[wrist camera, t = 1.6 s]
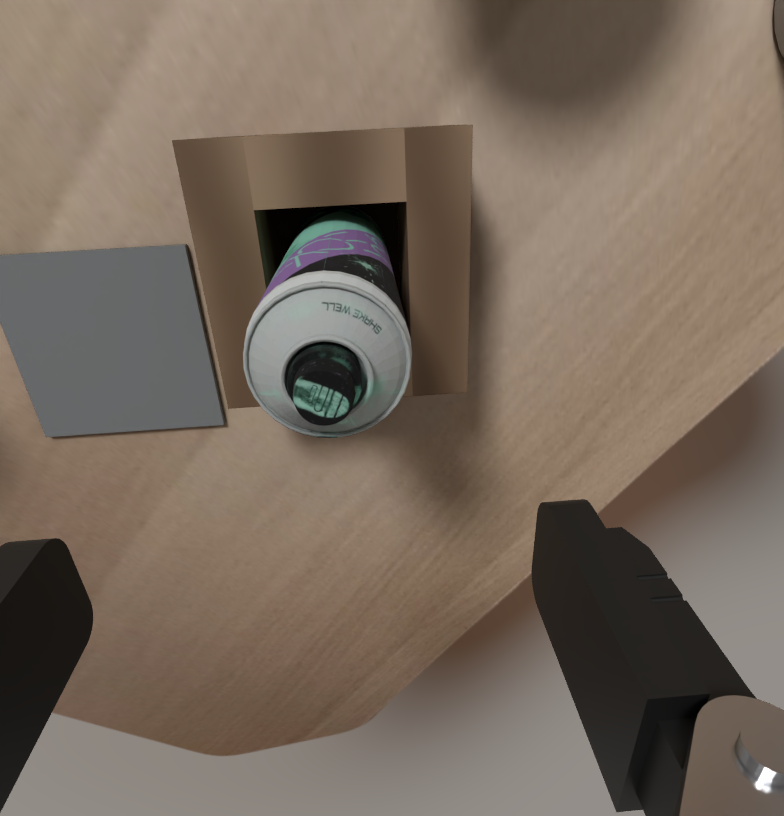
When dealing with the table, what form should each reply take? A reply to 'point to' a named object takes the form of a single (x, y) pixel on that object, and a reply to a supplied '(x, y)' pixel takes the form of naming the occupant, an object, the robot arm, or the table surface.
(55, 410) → the mat
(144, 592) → the table surface
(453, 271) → the holder
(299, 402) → the spray can
